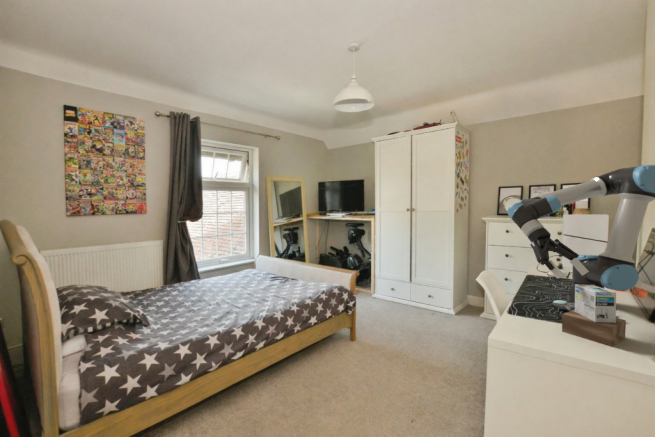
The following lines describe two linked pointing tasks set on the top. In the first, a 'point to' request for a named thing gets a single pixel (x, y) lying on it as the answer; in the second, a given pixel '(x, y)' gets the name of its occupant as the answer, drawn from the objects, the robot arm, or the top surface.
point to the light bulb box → (595, 303)
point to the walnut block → (593, 329)
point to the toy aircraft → (564, 305)
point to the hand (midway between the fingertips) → (573, 275)
